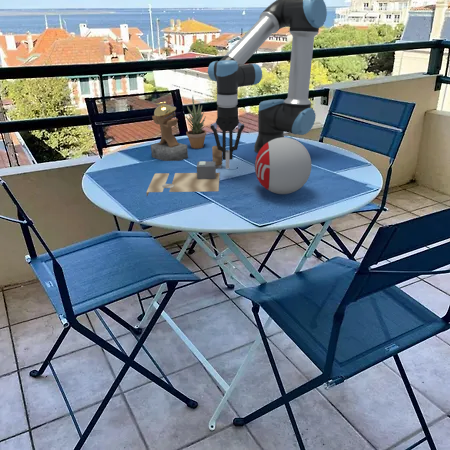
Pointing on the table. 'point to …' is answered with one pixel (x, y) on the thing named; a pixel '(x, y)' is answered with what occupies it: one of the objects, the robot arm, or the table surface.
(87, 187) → the table surface
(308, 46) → the robot arm
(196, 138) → the potted plant
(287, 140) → the decorative sphere
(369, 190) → the table surface
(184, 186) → the board
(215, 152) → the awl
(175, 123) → the figurine
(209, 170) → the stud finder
